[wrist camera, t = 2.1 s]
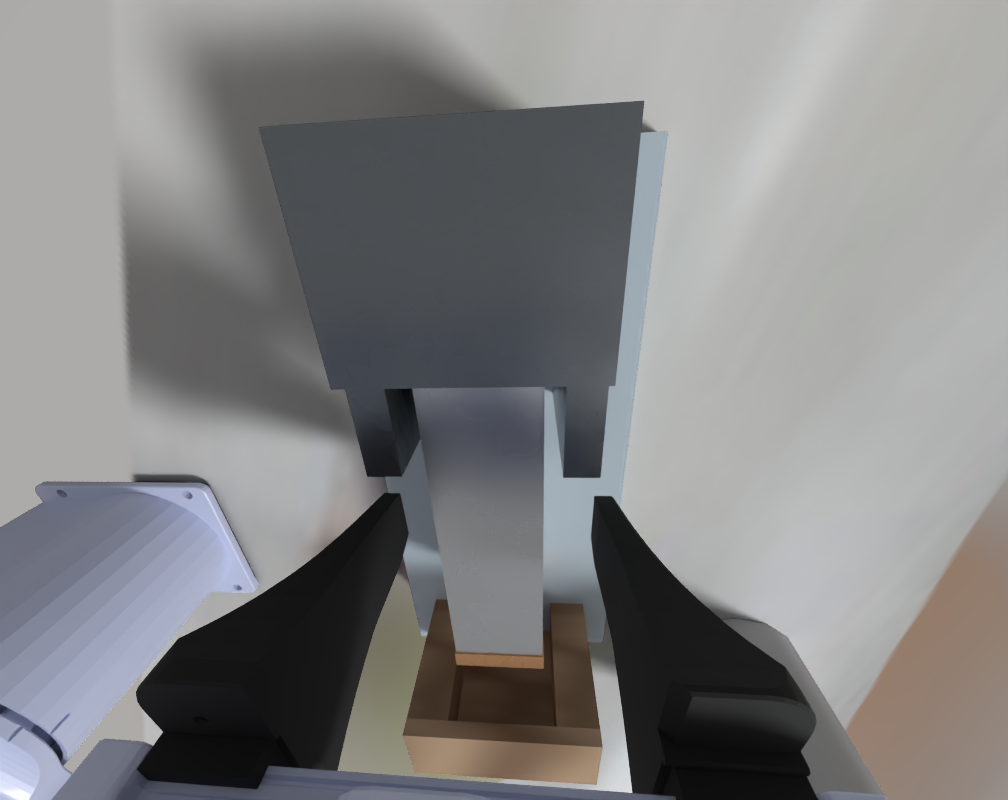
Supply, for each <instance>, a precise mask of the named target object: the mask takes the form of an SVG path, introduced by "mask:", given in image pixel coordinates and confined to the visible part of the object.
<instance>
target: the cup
mask: <svg viewBox="0 0 1008 800" xmlns="http://www.w3.org/2000/svg"><path fill="white" fill-rule="evenodd" d="M722 621H723V622H725V623H726V624H727V625H728V626H730V627H731V628H732V629H734V630H735V631H736V632H737V633H739V634H740V635H741V636H743V637H744V638H745V639H747V640H748V641H749V642H751V643H752V644H753V645H755V646H756V647H758V648H759V649H761V650H762V651H763V652H765V653H766V654H768V655H769V656H771V657H772V658H773V659H775V660H776V661H778V662H779V663H781V664H782V665H783V666H785V667H786V668H787V670H788V672H789V673H790V674H791V676H792V677H793V679H794V680H795V682H796V683H797V684H798V686H799V688H800V689H801V691H802V692H803V694H804V696H805V697H806V699H807V701H808V703H809V704H810V706H811V708H812V710H813V711H814V713H815V716H816V721H817V723H816V726H815V729H814V732H813V734H812V735H811V737H810V738H809V740H808V741H807V743H806V744H805V746H804V747H803V749H802V750H801V753H802V755H803V756H804V758H805V760H806V762H807V764H808V766H809V768H810V773H811V774H810V775H809V776H807V778H808V780H809V782H810V784H811V786H812V788H813V790H814V792H815V794H816V795H817V794H819V793H822V792H827V791H840V792H854V793H867V794H880V795H882V796H884V797H885V795H884V793H883V792H882V790H881V788H880V787H879V785H878V784H877V782H876V780H875V779H874V777H873V775H872V774H871V772H870V770H869V769H868V767H867V766H866V764H865V762H864V761H863V759H862V757H861V756H860V754H859V753H858V751H857V750H856V748H855V746H854V744H853V743H852V741H851V739H850V738H849V736H848V735H847V733H846V731H845V730H844V728H843V726H842V725H841V723H840V722H839V720H838V718H837V717H836V715H835V713H834V712H833V710H832V708H831V707H830V705H829V704H828V702H827V700H826V699H825V697H824V695H823V694H822V692H821V691H820V689H819V687H818V686H817V684H816V682H815V681H814V679H813V678H812V676H811V674H810V673H809V671H808V669H807V668H806V666H805V665H804V663H803V661H802V660H801V658H800V656H799V655H798V653H797V651H796V650H795V648H794V647H793V645H792V643H791V642H790V640H789V638H788V637H787V636H785V635H784V634H782V633H780V632H779V631H777V630H776V629H774V628H773V627H771V626H769V625H768V624H765V623H759V622H754V621H748V620H742V619H737V618H733V619H723V620H722Z"/></svg>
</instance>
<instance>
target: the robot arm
mask: <svg viewBox="0 0 1008 800" xmlns="http://www.w3.org/2000/svg"><path fill="white" fill-rule="evenodd" d="M35 491H36V493H37V495H38V496H39V497H40V499H41V500H42V501H43V503H41V504H39V505H38V506H36V507H34V508H33V509H31V510H29V511H28V512H26V513H24V514H22V515H21V516H19V517H17V518H16V519H14V520H12V521H10V522H9V523H7V524H5V525H4V526H2V527H0V800H888V799H887V798H886V797H884V796H882V795H880V794H867V793H854V792H840V791H827V792H822V793H819V794H817V795H816V794H815V792H814V790H813V788H812V786H811V784H810V782H809V780H808V778H807V776H809V775H810V774H811V773H810V768H809V766H808V764H807V762H806V760H805V758H804V756H803V755H802V753H801V750H802V749H803V747H804V746H805V744H806V743H807V741H808V740H809V738H810V737H811V735H812V734H813V732H814V729H815V726H816V723H817V721H816V716H815V713H814V711H813V710H812V708H811V706H810V704H809V703H808V701H807V699H806V697H805V696H804V694H803V692H802V691H801V689H800V688H799V686H798V684H797V683H796V682H795V680H794V679H793V677H792V676H791V674H790V673H789V672H788V670H787V668H786V667H785V666H783V665H782V664H781V663H779V662H778V661H776V660H775V659H773V658H772V657H771V656H769V655H768V654H766V653H765V652H763V651H762V650H761V649H759V648H758V647H756V646H755V645H753V644H752V643H751V642H749V641H748V640H747V639H745V638H744V637H743V636H741V635H740V634H739V633H737V632H736V631H735V630H734V629H732V628H731V627H730V626H728V625H727V624H726V623H725V622H723V621H722V620H721V619H720V618H719V617H718V616H716V615H715V614H714V613H713V612H712V611H711V610H710V609H708V608H707V607H706V606H705V605H704V604H703V603H701V602H700V601H699V600H698V599H697V598H696V597H695V596H694V595H693V594H692V593H691V592H690V591H689V590H688V589H686V588H685V587H684V586H683V585H682V584H681V583H680V582H679V580H678V579H677V578H676V577H675V576H674V575H673V574H672V573H671V572H670V571H669V570H668V569H667V568H666V567H665V566H664V565H663V563H662V562H661V561H660V560H659V559H658V558H657V556H656V555H655V554H654V553H653V552H652V550H651V549H650V548H649V547H648V546H647V544H646V543H645V542H644V540H643V539H642V538H641V537H640V535H639V534H638V533H637V531H636V530H635V529H634V527H633V526H632V525H631V523H630V522H629V520H628V519H627V517H626V516H625V515H624V513H623V512H622V510H621V508H620V507H619V505H618V504H617V502H616V501H615V499H614V498H613V497H612V496H594V506H593V517H592V529H591V543H592V551H593V559H594V566H595V570H596V574H597V578H598V582H599V587H600V591H601V595H602V599H603V603H604V607H605V611H606V615H607V619H608V624H609V628H610V633H611V637H612V643H613V649H614V656H615V662H616V669H617V676H618V683H619V690H620V697H621V704H622V711H623V719H624V727H625V734H626V742H627V750H628V758H629V766H630V775H631V783H632V792H633V793H624V792H610V791H597V790H584V789H570V788H557V787H544V786H531V785H517V784H504V783H491V782H477V781H462V780H451V779H437V778H424V777H411V776H398V775H384V774H371V773H357V772H345V771H337V769H338V765H339V760H340V756H341V752H342V748H343V743H344V739H345V734H346V730H347V726H348V722H349V718H350V715H351V710H352V706H353V703H354V698H355V695H356V691H357V687H358V684H359V680H360V677H361V673H362V669H363V666H364V662H365V659H366V655H367V652H368V649H369V645H370V642H371V638H372V635H373V632H374V629H375V626H376V624H377V621H378V618H379V616H380V613H381V611H382V608H383V606H384V603H385V601H386V598H387V596H388V593H389V591H390V588H391V586H392V583H393V581H394V579H395V576H396V574H397V571H398V568H399V566H400V563H401V561H402V558H403V554H404V550H405V547H406V543H407V539H408V535H409V531H408V527H407V522H406V517H405V513H404V508H403V503H402V499H401V494H400V493H384V494H383V495H382V496H381V497H380V498H379V499H378V500H377V501H376V502H375V503H374V504H373V505H372V506H371V507H370V508H369V509H368V510H366V511H365V512H364V513H363V514H362V515H361V516H360V517H359V518H358V519H357V520H356V521H355V522H354V523H353V524H352V525H351V526H350V527H349V528H347V529H346V530H345V531H344V532H343V533H342V534H341V535H340V536H339V537H338V538H336V539H335V540H334V541H333V542H332V543H331V544H329V545H328V546H327V547H326V548H325V549H324V550H322V551H321V552H320V553H319V554H318V555H316V556H315V557H314V558H313V559H311V560H310V561H309V562H307V563H306V564H305V565H303V566H302V567H301V568H299V569H298V570H297V571H295V572H294V573H292V574H291V575H290V576H288V577H287V578H285V579H284V580H282V581H281V582H279V583H277V584H276V585H274V586H273V587H271V588H270V589H268V590H267V591H265V592H264V593H262V594H261V595H259V596H257V597H256V598H254V599H252V600H251V601H249V602H247V603H246V604H244V605H242V606H240V607H239V608H237V609H235V610H233V611H232V612H230V613H228V614H226V615H224V616H222V617H221V618H219V619H217V620H215V621H213V622H211V623H209V624H207V625H205V626H203V627H201V628H199V629H197V630H195V631H193V632H191V633H189V634H187V635H185V636H183V637H181V638H179V639H178V640H177V641H176V642H175V643H174V644H173V646H172V647H171V648H170V649H169V650H168V652H167V653H166V654H165V655H164V656H163V658H162V659H161V660H160V661H159V662H158V664H157V665H156V666H155V667H154V668H153V670H152V671H151V672H150V673H149V674H148V676H147V677H146V678H145V679H144V680H143V682H142V683H141V684H140V685H139V687H138V689H137V691H136V696H137V701H138V703H139V705H140V706H141V708H142V709H143V710H144V711H145V712H146V713H147V714H148V716H149V717H150V718H151V719H152V720H153V721H154V722H155V723H156V724H157V725H158V726H159V728H160V729H161V730H162V731H163V733H162V735H161V736H160V737H159V739H158V740H157V742H156V743H155V744H154V746H152V745H150V744H148V743H145V742H140V741H130V740H116V739H103V740H101V741H99V743H98V744H97V745H96V746H95V748H93V750H92V751H91V753H90V754H89V755H88V756H87V757H86V758H85V759H84V761H83V762H82V763H81V764H80V766H79V767H78V768H77V769H76V770H75V772H74V773H71V772H70V771H69V770H67V769H66V768H65V767H64V766H63V765H64V764H66V762H67V761H68V760H69V759H70V758H71V757H72V755H73V754H74V753H75V752H76V750H77V749H78V748H79V747H80V746H81V744H83V742H84V741H85V740H86V739H87V738H88V736H89V735H90V734H91V733H92V732H93V731H94V729H95V728H96V727H97V726H98V725H99V723H100V722H101V721H102V720H103V719H104V718H105V716H106V715H107V714H108V713H109V712H110V710H111V709H112V708H113V707H114V706H115V705H116V703H117V702H118V701H119V700H120V699H121V697H122V696H123V695H124V694H125V693H126V692H127V690H128V689H129V688H130V687H131V686H132V685H133V683H134V682H135V681H136V680H137V679H138V677H139V676H140V675H141V674H142V673H143V672H144V670H145V669H146V668H147V667H148V666H149V665H150V663H151V662H152V661H153V660H154V659H155V657H156V656H157V655H158V654H159V653H160V652H161V650H162V649H163V648H164V647H165V646H166V644H167V643H168V642H169V641H170V640H171V639H172V637H173V636H174V635H175V634H176V633H177V631H178V630H179V629H180V628H181V627H182V626H183V624H184V623H185V622H186V621H187V620H188V618H189V617H190V616H191V615H192V614H193V613H194V611H195V610H196V609H197V608H198V607H199V606H200V604H201V603H202V602H203V601H204V600H205V598H206V597H207V596H208V595H209V594H210V593H211V592H233V593H252V592H253V591H254V590H255V589H256V588H257V586H258V583H257V581H256V579H255V577H254V575H253V573H252V571H251V569H250V567H249V565H248V563H247V561H246V559H245V557H244V555H243V553H242V551H241V549H240V547H239V545H238V543H237V541H236V539H235V537H234V535H233V533H232V531H231V529H230V527H229V525H228V523H227V521H226V519H225V517H224V515H223V513H222V511H221V509H220V507H219V505H218V503H217V501H216V499H215V497H214V495H213V493H212V491H211V489H210V488H209V487H208V486H207V485H205V484H203V483H157V482H43V483H42V484H40V485H38V486H36V488H35Z"/></svg>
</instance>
